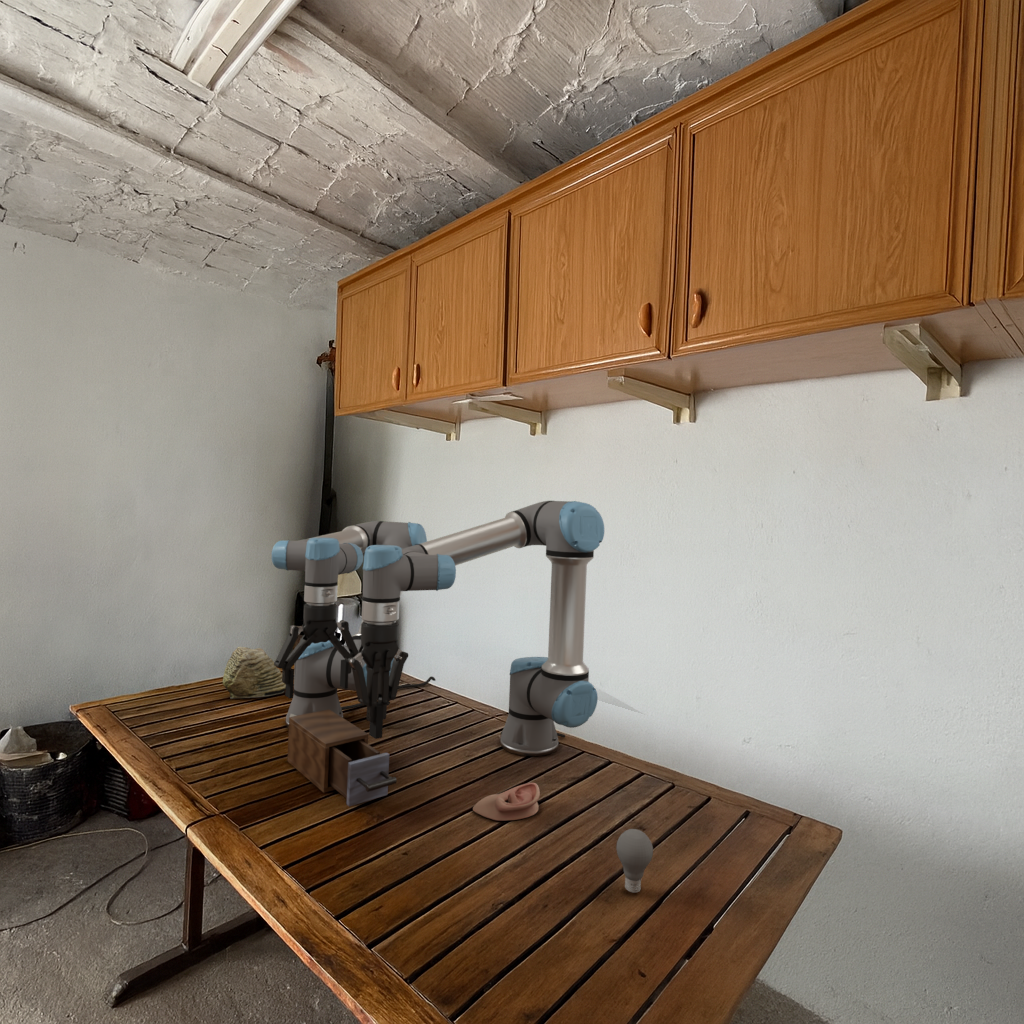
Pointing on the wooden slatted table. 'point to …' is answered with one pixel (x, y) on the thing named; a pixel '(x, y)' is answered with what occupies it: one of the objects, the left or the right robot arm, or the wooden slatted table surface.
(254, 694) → the fossil
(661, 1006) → the wooden slatted table surface
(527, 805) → the anatomical model
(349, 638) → the left robot arm
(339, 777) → the drawer
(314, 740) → the cabinet
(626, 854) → the light bulb
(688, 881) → the wooden slatted table surface
